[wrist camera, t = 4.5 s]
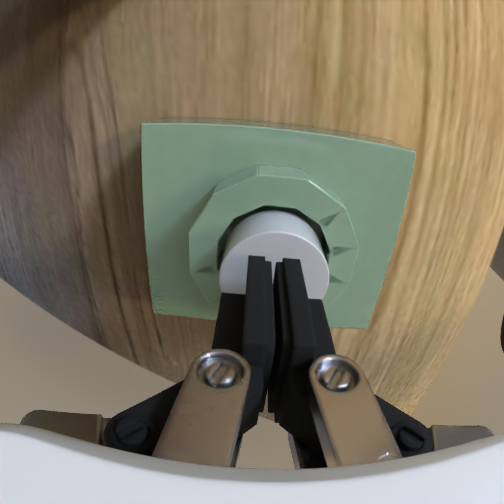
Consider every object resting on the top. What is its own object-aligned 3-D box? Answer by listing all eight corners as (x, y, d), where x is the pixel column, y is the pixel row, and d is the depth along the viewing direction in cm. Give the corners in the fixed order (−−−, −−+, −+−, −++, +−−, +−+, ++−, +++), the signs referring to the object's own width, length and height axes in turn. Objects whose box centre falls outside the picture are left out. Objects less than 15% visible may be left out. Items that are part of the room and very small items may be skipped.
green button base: (390, 140, 15) (436, 160, 10) (354, 296, 19) (374, 351, 15) (162, 117, 15) (123, 128, 10) (167, 281, 19) (143, 335, 15)
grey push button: (328, 214, 12) (340, 237, 10) (312, 297, 14) (318, 327, 12) (226, 205, 12) (220, 226, 10) (223, 290, 14) (217, 320, 12)
